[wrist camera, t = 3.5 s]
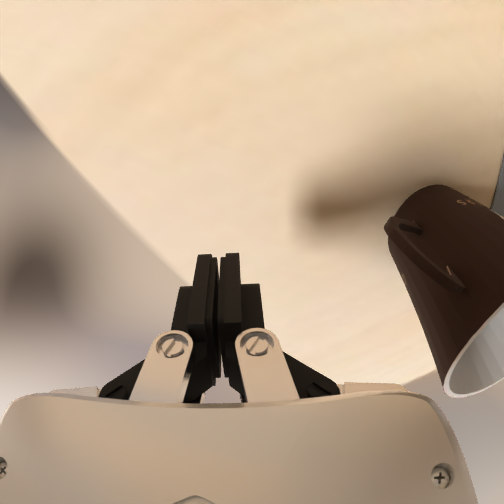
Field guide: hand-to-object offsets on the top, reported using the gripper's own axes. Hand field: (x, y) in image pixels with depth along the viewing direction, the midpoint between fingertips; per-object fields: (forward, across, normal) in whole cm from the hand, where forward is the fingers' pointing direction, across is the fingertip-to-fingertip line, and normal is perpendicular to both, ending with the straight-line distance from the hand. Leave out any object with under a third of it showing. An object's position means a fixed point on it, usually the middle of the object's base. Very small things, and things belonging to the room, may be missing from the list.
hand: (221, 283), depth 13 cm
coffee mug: (+5, -12, -1) cm, 13 cm away
